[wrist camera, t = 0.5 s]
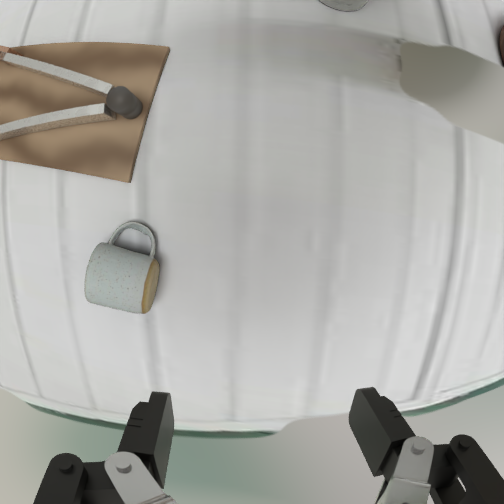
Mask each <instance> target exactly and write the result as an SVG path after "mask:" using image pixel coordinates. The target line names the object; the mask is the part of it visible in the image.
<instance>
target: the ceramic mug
mask: <svg viewBox="0 0 504 504" xmlns="http://www.w3.org/2000/svg"><path fill="white" fill-rule="evenodd" d="M127 228H133V229H136V230H139V231H141V232H143V234H145V235H148V236H150V239H151V242H152V244H151V252H150V255H149V256H148V255H144V254H141V253H137V252H133V251H130V250H127V249H124V248H121V247H117V246H114V242H115V240H116V238H117V237H118V236H119V234H120V233H121V232H122V231H123V230H125V229H127ZM154 254H155V239H154V236H153V234H152V232H151V231H150V230H149V228H148V227H146V226H145V225H143V224H141V223H138V222H127V223H125V224H123V225H121V226H120V227H119V228H117V229H116V231H115V232H114V233H113V235H112V236H111V238H110V240H109V243H100V244H98V245H97V246H96V248H95V249H94V251H93V253H92V255H91V257H90V260H89V264H88V266H87V270H86V276H85V290H84V291H85V297H86V299H87V301H88V302H90V303H93V304H97V305H101V306H105V307H110V308H114V309H118V310H123V311H127V312H131V313H139V314H145V313H147V312H148V311H149V310H150V309H151V307H152V304H153V300H154V297H155V292H156V288H157V283H158V277H159V263H158V262H157V260H155V259H154V258H153V257H154Z"/></svg>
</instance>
